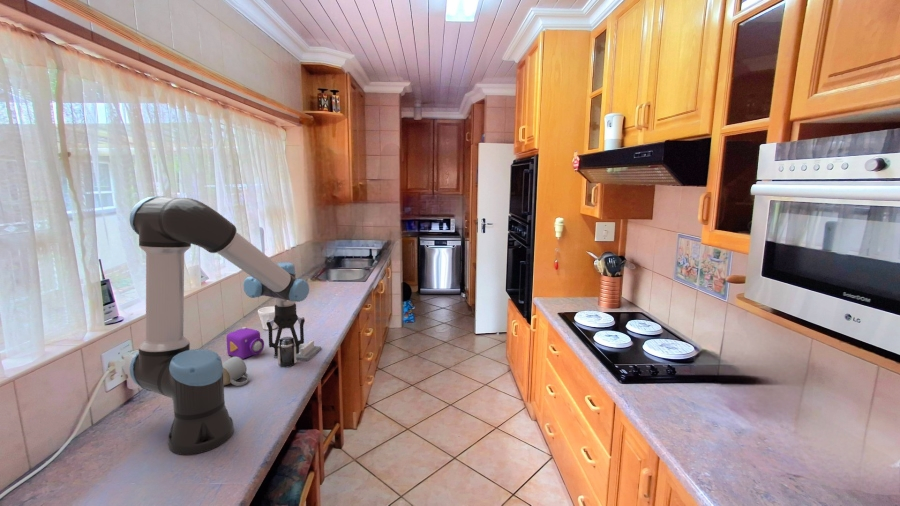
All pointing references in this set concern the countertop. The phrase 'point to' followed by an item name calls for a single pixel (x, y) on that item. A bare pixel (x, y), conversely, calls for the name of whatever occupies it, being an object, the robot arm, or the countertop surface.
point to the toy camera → (244, 343)
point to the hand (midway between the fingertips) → (287, 362)
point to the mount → (306, 351)
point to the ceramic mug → (234, 371)
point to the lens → (286, 351)
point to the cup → (267, 316)
